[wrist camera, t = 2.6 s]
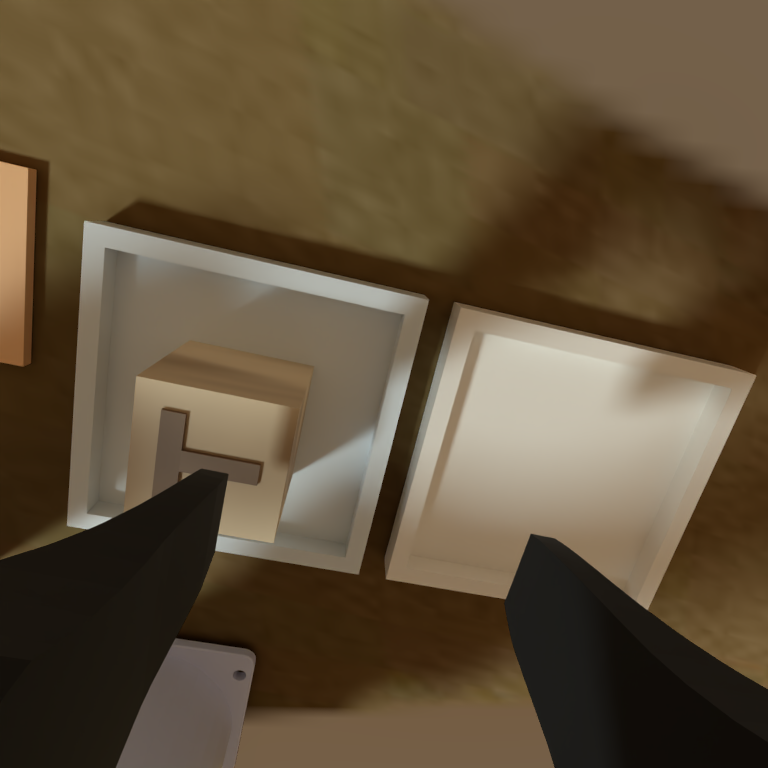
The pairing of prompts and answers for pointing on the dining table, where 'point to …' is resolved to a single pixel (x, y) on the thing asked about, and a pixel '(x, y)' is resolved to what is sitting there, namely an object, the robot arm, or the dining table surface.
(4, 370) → the dining table surface
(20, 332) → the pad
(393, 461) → the dining table surface
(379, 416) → the near tray
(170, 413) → the letter cube
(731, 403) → the far tray
